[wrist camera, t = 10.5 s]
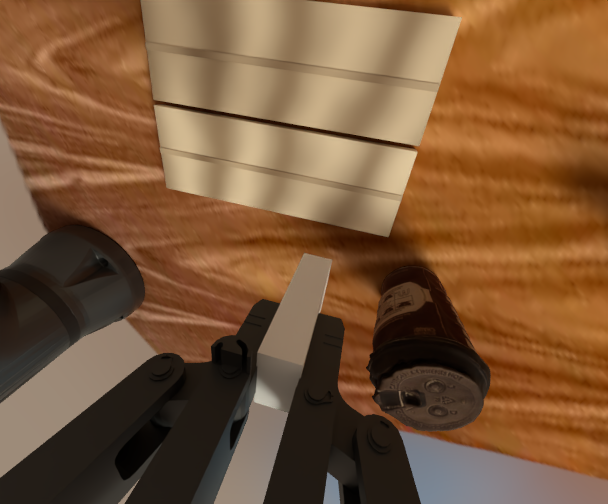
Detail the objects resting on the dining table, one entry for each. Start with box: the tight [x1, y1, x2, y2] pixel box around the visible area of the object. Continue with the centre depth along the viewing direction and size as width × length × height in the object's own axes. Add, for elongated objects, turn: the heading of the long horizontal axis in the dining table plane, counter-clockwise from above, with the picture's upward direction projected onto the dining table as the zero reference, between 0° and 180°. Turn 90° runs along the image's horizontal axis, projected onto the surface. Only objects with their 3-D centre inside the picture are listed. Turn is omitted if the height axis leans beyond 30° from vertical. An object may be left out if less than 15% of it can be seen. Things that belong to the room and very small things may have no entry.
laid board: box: [140, 0, 462, 146], centre depth 22 cm, size 24×8×1 cm, turn 82°
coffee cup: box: [366, 266, 490, 432], centre depth 24 cm, size 9×8×13 cm
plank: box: [154, 104, 417, 237], centre depth 26 cm, size 24×8×1 cm, turn 82°
